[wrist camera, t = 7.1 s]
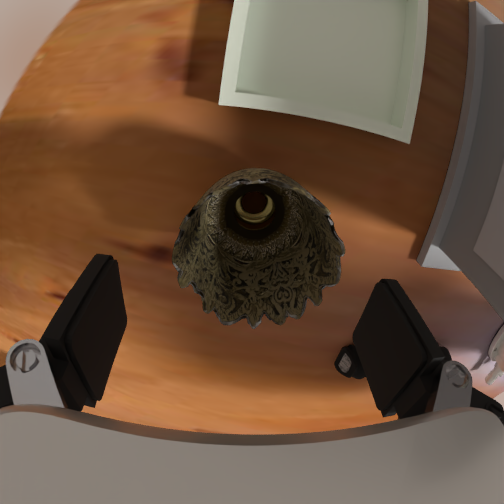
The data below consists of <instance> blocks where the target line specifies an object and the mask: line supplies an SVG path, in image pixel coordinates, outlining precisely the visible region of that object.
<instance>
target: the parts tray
mask: <svg viewBox="0 0 504 504" xmlns="http://www.w3.org/2000/svg"><path fill="white" fill-rule="evenodd" d="M427 20H428V0H234V5H233V11H232V16H231V22H230V28H229V34H228V40H227V47H226V53H225V60H224V67H223V74H222V81H221V89H220V97H219V105H226V106H236V107H245V108H253V109H261V110H268V111H275V112H281V113H287V114H293V115H299V116H304V117H309V118H314V119H319V120H324V121H328V122H333V123H337V124H341V125H345V126H349V127H353V128H357V129H361V130H365V131H368V132H372V133H376V134H379V135H382V136H386V137H389V138H392V139H395V140H399V141H402V142H405V143H408V144H410V140H411V135H412V131H413V126H414V121H415V116H416V111H417V105H418V99H419V94H420V87H421V81H422V73H423V66H424V57H425V48H426V36H427Z"/></svg>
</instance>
